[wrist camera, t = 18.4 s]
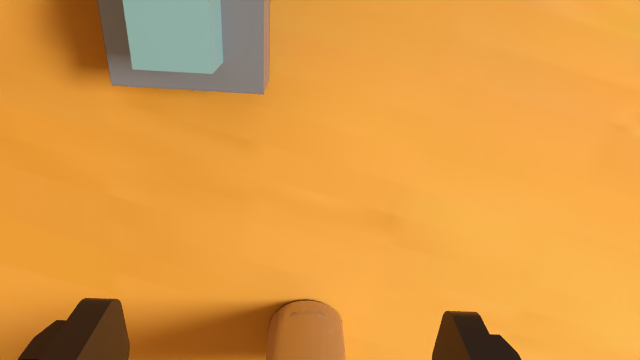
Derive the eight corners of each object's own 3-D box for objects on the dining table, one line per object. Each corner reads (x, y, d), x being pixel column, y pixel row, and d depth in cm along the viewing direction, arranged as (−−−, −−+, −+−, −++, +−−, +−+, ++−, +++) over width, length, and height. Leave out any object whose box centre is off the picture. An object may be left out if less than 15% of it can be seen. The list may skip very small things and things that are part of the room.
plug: (231, 54, 35) (212, 74, 28) (166, 50, 35) (132, 69, 28) (228, -16, 32) (207, -13, 26) (159, -21, 32) (119, -18, 25)
